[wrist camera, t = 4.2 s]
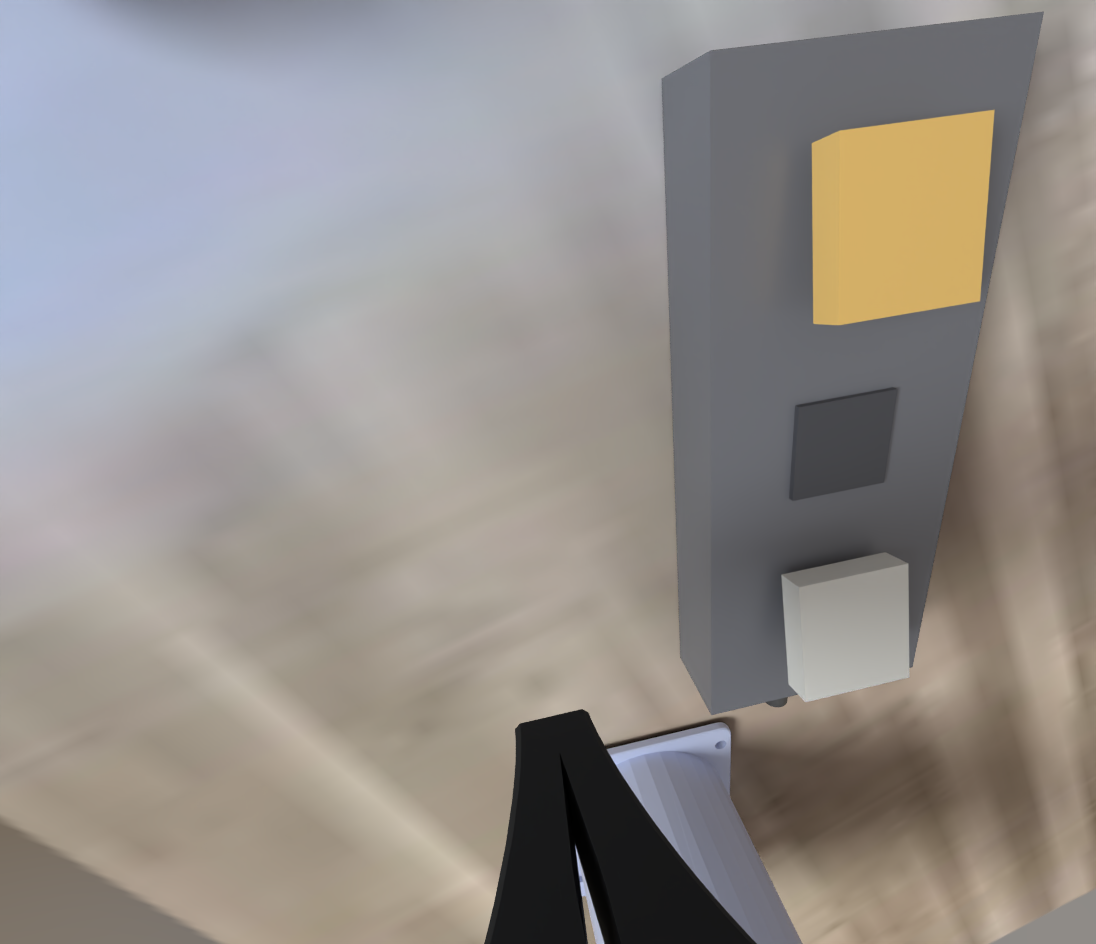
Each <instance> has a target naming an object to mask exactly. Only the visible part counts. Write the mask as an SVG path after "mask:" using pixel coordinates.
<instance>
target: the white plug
mask: <svg viewBox="0 0 1096 944" xmlns="http://www.w3.org/2000/svg"><path fill="white" fill-rule="evenodd" d="M781 577H782V592H783V607H784V623H785V638H786V653H787V668H788V683H789V685H790V686H791V687H792V688H793V689H794V691H795V692H796V693H797V694H798V695H799V696H800V697H801V698H802V699H803V700H804V701H805V702H809V701H813V700H817V699H821V698H825V697H830V696H834V695H838V694H842V693H846V692H850V691H855V690H859V689H863V688H867V687H871V686H875V685H880V684H884V683H888V682H892V681H896V680H900V679H904V678H909V580H908V563H906V562H904V561H902V560H900V559H898V558H896V557H894V556H892V555H890V554H888V553H886V552H884V553H879V554H874V555H870V556H865V557H861V558H856V559H851V560H847V561H842V562H837V563H833V564H828V565H823V566H819V567H814V568H810V569H805V570H800V571H796V572H791V573H786V574H782V575H781Z"/></svg>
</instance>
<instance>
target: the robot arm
mask: <svg viewBox="0 0 1096 944" xmlns="http://www.w3.org/2000/svg"><path fill="white" fill-rule="evenodd" d="M515 735H516V765H515V778H514V789H513V799H512V806H511V813H510V820H509V827H508V834H507V840H506V846H505V852H504V857H503V862H502V867H501V872H500V877H499V882H498V887H497V892H496V897H495V902H494V906H493V910H492V915H491V919H490V923H489V927H488V931H487V935H486V939H485V943H484V944H588V941H587V933H586V925H585V918H584V910H583V902H582V896H586V898H587V902H588V907H589V912H590V916H591V921H592V926H593V930H594V935H595V940H596V944H802V942H801V940H800V938H799V936H798V934H797V932H796V930H795V928H794V926H793V924H792V922H791V919H790V917H789V915H788V913H787V911H786V909H785V907H784V905H783V903H782V901H781V899H780V897H779V895H778V893H777V891H776V889H775V887H774V885H773V883H772V881H771V879H770V877H769V875H768V873H767V871H766V869H765V867H764V865H763V863H762V861H761V859H760V857H759V855H758V853H757V851H756V849H755V847H754V845H753V843H752V841H751V838H750V836H749V834H748V832H747V830H746V828H745V826H744V824H743V822H742V820H741V818H740V816H739V814H738V812H737V810H736V808H735V806H734V804H733V802H732V800H731V798H730V766H731V731H730V729H729V727H728V726H727V725H726V724H725V723H722V722H718V723H713V724H709V725H705V726H701V727H697V728H692V729H688V730H684V731H680V732H676V733H672V734H667V735H663V736H659V737H655V738H651V739H647V740H642V741H638V742H634V743H630V744H626V745H622V746H618V747H613V748H609V749H606V748H605V746H604V744H603V742H602V740H601V738H600V737H599V735H598V733H597V731H596V729H595V727H594V725H593V723H592V720H591V718H590V716H589V713H588V712H586V711H585V710H583V709H581V710H577V711H572V712H568V713H564V714H559V715H555V716H551V717H547V718H542V719H538V720H534V721H529V722H525V723H521V724H519V725H518V727H517V728H516V729H515Z"/></svg>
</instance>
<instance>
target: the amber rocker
mask: <svg viewBox="0 0 1096 944" xmlns="http://www.w3.org/2000/svg"><path fill="white" fill-rule="evenodd" d="M993 124H994V110H989V111H982V112H974V113H967V114H959V115H952V116H944V117H937V118H930V119H922V120H915V121H907V122H900V123H892V124H885V125H878V126H870V127H863V128H855V129H848V130H840V131H838V132H835V133H833V134H831V135H829V136H826V137H824V138H822V139H820V140H818V141H815V142H813V143H812V229H813V324H824V325H844V324H850V323H856V322H862V321H867V320H873V319H879V318H885V317H891V316H897V315H903V314H908V313H914V312H920V311H926V310H932V309H938V308H943V307H949V306H955V305H961V304H967V303H973V302H978V301H980V295H981V282H982V269H983V256H984V242H985V229H986V216H987V203H988V190H989V176H990V163H991V150H992V137H993Z"/></svg>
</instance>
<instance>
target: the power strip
mask: <svg viewBox="0 0 1096 944" xmlns="http://www.w3.org/2000/svg"><path fill="white" fill-rule="evenodd" d="M1043 14H1044V12H1037V13H1028V14H1020V15H1011V16H1003V17H994V18H985V19H977V20H968V21H960V22H951V23H943V24H934V25H925V26H917V27H908V28H900V29H891V30H883V31H874V32H866V33H857V34H848V35H840V36H831V37H823V38H814V39H806V40H797V41H788V42H780V43H771V44H763V45H754V46H746V47H737V48H728V49H720V50H711V51H709V52H707V53H705V54H704V55H702V56H700V57H698V58H697V59H695V60H693V61H691V62H690V63H688V64H686V65H685V66H683V67H681V68H679V69H678V70H676V71H674V72H672V73H671V74H669V75H667V76H665V77H664V78H662V101H663V132H664V163H665V194H666V225H667V256H668V287H669V318H670V349H671V380H672V411H673V442H674V473H675V504H676V535H677V566H678V597H679V628H680V658H681V659H682V661H683V663H684V665H685V667H686V669H687V671H688V672H689V674H690V676H691V678H692V680H693V682H694V684H695V686H696V687H697V689H698V691H699V693H700V695H701V697H702V699H703V700H704V702H705V704H706V706H707V708H708V710H709V712H710V713H711V715H714V714H718V713H722V712H727V711H731V710H735V709H739V708H743V707H747V706H752V705H756V704H760V703H764V702H766V703H767V704H768V705H770V706H773V707H782V706H784V705H785V704H786V703H787V698H788V697H789V696H794V695H798V694H797V693H796V692H795V691H794V689H793V688H792V687H791V686H790V685H789V683H788V668H787V653H786V638H785V623H784V607H783V592H782V577H781V575H782V574H786V573H791V572H796V571H800V570H805V569H810V568H814V567H819V566H823V565H828V564H833V563H837V562H842V561H847V560H851V559H856V558H861V557H865V556H870V555H874V554H879V553H884V552H886V553H888V554H890V555H892V556H894V557H896V558H898V559H900V560H902V561H904V562H906V563H908V580H909V668H911V667H913V662H914V657H915V652H916V647H917V642H918V637H919V632H920V627H921V622H922V617H923V612H924V607H925V602H926V597H927V592H928V587H929V582H930V577H931V572H932V567H933V562H934V557H935V552H936V547H937V542H938V537H939V532H940V527H941V522H942V517H943V512H944V507H945V502H946V497H947V492H948V487H949V482H950V477H951V472H952V467H953V462H954V457H955V452H956V447H957V442H958V437H959V432H960V427H961V422H962V417H963V412H964V407H965V402H966V397H967V392H968V387H969V382H970V377H971V372H972V367H973V362H974V357H975V353H976V348H977V343H978V338H979V333H980V328H981V323H982V318H983V313H984V308H985V303H986V298H987V293H988V288H989V283H990V278H991V273H992V268H993V263H994V258H995V253H996V248H997V243H998V238H999V233H1000V228H1001V223H1002V218H1003V213H1004V208H1005V203H1006V198H1007V193H1008V188H1009V183H1010V178H1011V173H1012V168H1013V163H1014V158H1015V153H1016V148H1017V143H1018V138H1019V133H1020V128H1021V123H1022V118H1023V113H1024V108H1025V103H1026V98H1027V93H1028V88H1029V83H1030V78H1031V73H1032V68H1033V63H1034V58H1035V53H1036V48H1037V43H1038V38H1039V33H1040V28H1041V23H1042V18H1043ZM989 110H994V124H993V137H992V150H991V163H990V176H989V190H988V203H987V216H986V229H985V242H984V256H983V269H982V282H981V295H980V301H978V302H973V303H967V304H961V305H955V306H949V307H943V308H938V309H932V310H926V311H920V312H914V313H908V314H903V315H897V316H891V317H885V318H879V319H873V320H867V321H862V322H856V323H850V324H844V325H824V324H813V229H812V143H813V142H815V141H818V140H820V139H822V138H824V137H826V136H829V135H831V134H833V133H835V132H838V131H840V130H848V129H855V128H863V127H870V126H878V125H885V124H892V123H900V122H907V121H915V120H922V119H930V118H937V117H944V116H952V115H959V114H967V113H974V112H982V111H989Z"/></svg>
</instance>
